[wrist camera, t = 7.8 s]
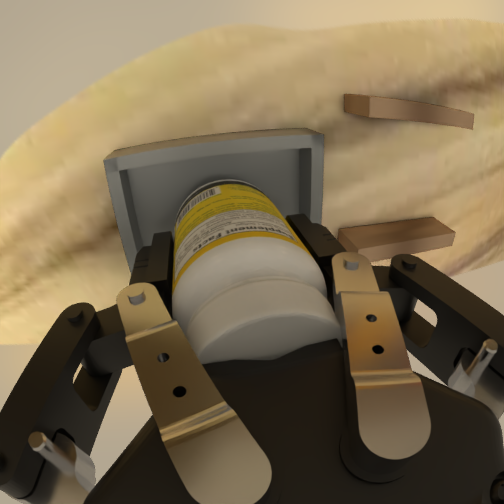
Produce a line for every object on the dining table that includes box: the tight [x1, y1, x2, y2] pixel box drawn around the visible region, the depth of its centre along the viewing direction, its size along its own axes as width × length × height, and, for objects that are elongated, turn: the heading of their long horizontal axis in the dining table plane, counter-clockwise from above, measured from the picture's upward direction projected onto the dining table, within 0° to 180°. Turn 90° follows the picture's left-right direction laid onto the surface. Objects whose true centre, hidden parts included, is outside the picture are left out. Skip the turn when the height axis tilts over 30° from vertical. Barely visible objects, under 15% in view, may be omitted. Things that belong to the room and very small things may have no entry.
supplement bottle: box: [172, 179, 342, 364], centre depth 10 cm, size 5×5×8 cm
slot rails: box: [338, 94, 474, 262], centre depth 16 cm, size 8×9×2 cm
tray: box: [103, 128, 324, 275], centre depth 15 cm, size 10×8×2 cm
